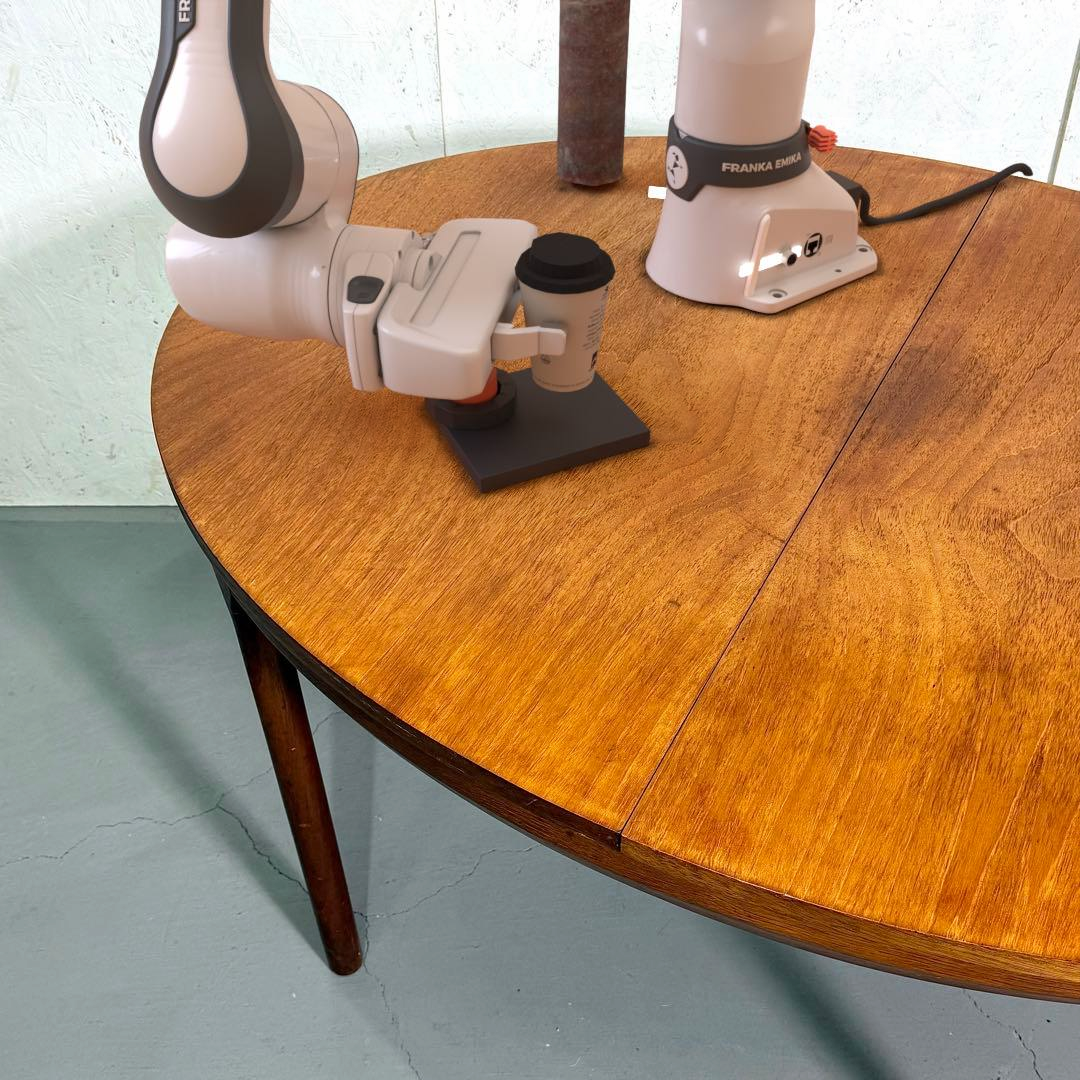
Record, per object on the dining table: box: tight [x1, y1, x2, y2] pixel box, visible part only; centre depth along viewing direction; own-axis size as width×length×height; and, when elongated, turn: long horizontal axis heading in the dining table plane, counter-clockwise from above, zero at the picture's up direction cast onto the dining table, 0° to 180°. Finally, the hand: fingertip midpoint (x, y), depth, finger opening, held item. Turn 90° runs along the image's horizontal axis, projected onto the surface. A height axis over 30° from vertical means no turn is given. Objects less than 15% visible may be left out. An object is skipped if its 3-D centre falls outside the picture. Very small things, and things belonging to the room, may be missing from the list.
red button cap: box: [451, 365, 497, 405], centre depth 82 cm, size 4×4×2 cm
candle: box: [556, 0, 631, 187], centre depth 112 cm, size 8×7×20 cm
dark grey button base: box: [423, 366, 651, 494], centre depth 83 cm, size 14×12×3 cm
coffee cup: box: [515, 231, 616, 392], centre depth 75 cm, size 7×7×10 cm
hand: (577, 310), depth 75 cm, fingers closed on coffee cup, 7 cm apart
